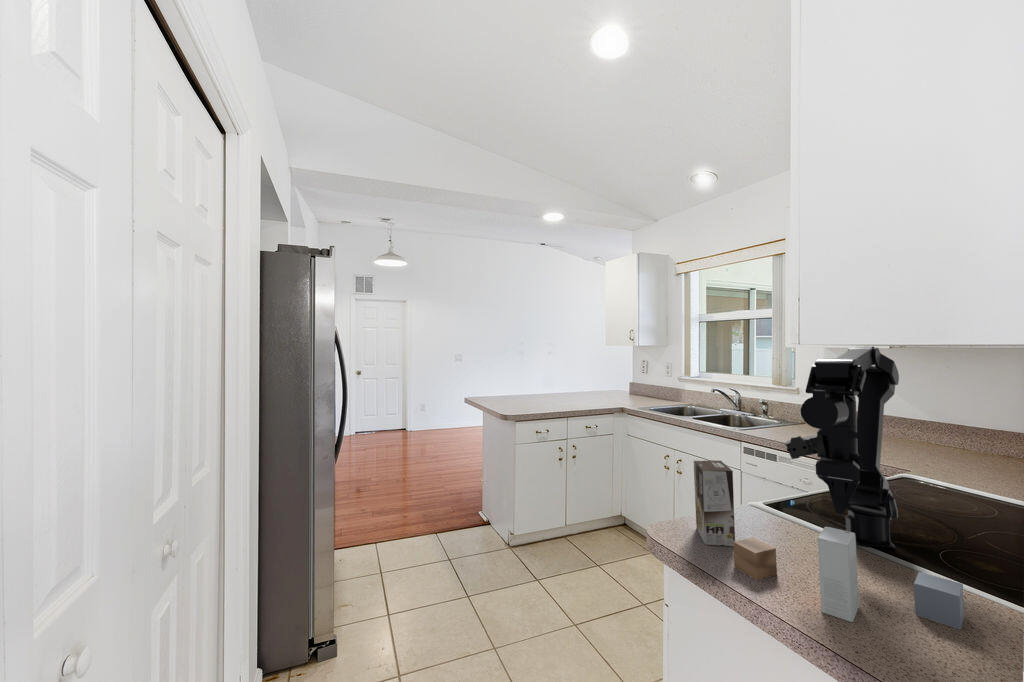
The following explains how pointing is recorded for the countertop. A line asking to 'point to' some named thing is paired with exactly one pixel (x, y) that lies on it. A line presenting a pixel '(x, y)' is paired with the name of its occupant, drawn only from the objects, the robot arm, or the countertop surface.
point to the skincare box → (838, 573)
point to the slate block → (939, 600)
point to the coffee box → (714, 502)
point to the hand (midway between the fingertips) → (839, 507)
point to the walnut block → (755, 558)
